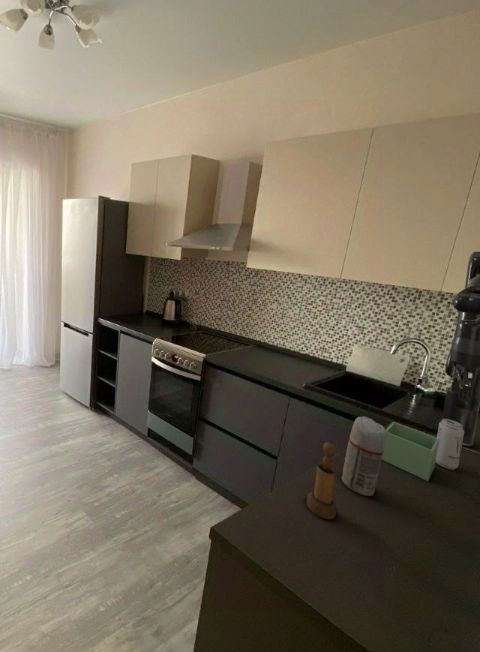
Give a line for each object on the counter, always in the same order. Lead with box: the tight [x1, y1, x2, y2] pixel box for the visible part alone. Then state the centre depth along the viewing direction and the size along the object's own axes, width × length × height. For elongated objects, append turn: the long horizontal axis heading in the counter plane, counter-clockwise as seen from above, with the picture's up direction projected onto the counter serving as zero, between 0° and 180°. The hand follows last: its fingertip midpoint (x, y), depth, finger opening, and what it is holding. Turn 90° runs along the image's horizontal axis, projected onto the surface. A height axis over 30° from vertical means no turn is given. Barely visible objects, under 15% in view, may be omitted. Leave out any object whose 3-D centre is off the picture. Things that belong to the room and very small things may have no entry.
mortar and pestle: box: [306, 441, 338, 520], centre depth 86 cm, size 7×6×18 cm
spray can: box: [340, 416, 386, 497], centre depth 96 cm, size 8×8×20 cm
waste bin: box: [381, 421, 439, 482], centre depth 111 cm, size 12×12×10 cm
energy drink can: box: [435, 418, 464, 470], centre depth 112 cm, size 6×6×15 cm
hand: (458, 396), depth 114 cm, fingers open, 8 cm apart
